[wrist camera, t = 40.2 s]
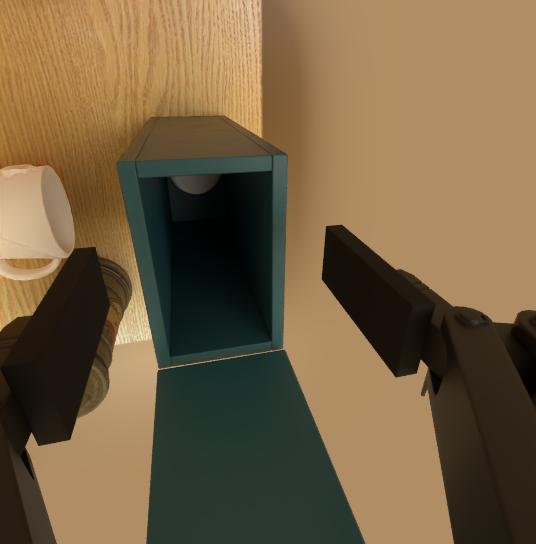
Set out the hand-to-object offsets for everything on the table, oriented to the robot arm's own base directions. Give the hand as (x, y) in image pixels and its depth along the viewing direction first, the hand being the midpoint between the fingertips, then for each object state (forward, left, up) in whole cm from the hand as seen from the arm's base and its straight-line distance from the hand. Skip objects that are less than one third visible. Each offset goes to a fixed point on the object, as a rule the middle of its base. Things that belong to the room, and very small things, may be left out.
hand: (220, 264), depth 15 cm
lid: (+6, +6, +3) cm, 9 cm away
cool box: (+2, +2, -30) cm, 30 cm away
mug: (+18, -10, -30) cm, 36 cm away
